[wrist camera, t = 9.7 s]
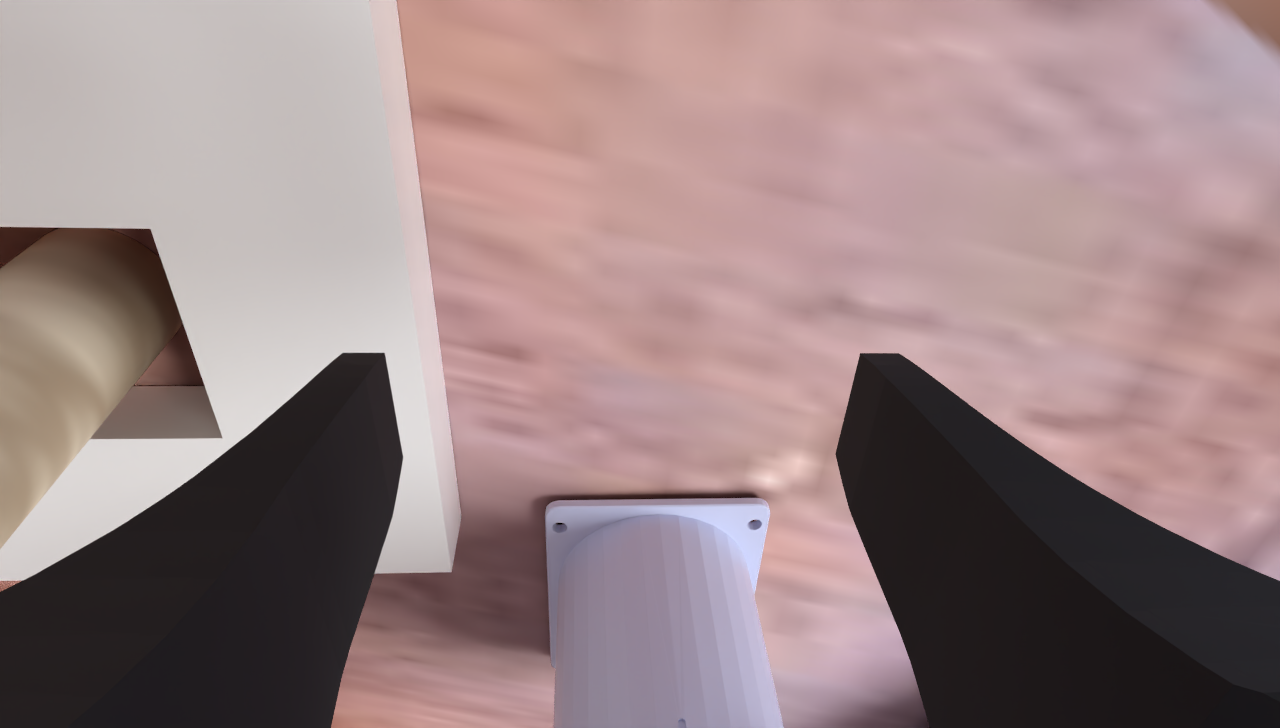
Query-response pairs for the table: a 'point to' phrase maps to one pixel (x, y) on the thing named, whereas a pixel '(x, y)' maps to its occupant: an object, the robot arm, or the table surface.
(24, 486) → the peg
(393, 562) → the socket
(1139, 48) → the table surface
